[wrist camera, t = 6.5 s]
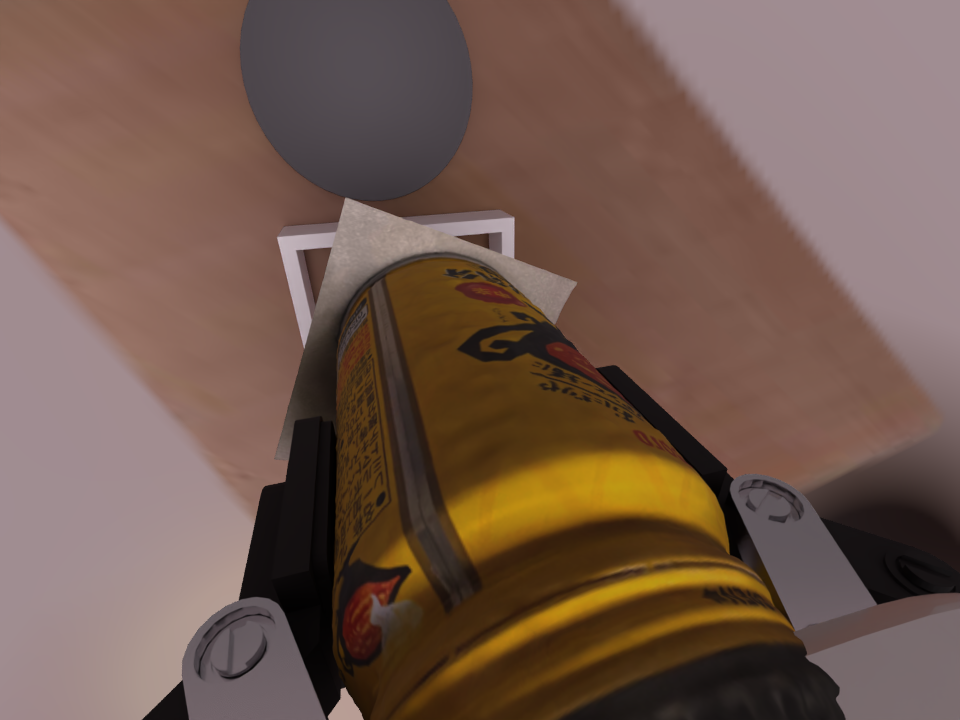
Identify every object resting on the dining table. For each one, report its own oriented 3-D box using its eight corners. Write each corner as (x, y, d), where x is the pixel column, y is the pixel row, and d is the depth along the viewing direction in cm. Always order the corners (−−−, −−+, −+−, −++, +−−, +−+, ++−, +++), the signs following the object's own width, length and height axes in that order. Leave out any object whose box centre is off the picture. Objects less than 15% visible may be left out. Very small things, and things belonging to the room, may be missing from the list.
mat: (473, 192, 29) (476, 193, 28) (275, 205, 26) (273, 208, 26) (464, -53, 23) (467, -58, 22) (211, -66, 21) (206, -72, 20)
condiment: (574, 279, 14) (1131, 686, 4) (475, 479, 17) (659, 994, 7) (345, 195, 11) (349, 847, 1) (275, 452, 14) (113, 1244, 4)
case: (501, 403, 37) (583, 551, 24) (331, 433, 34) (322, 618, 21) (499, 209, 30) (616, 272, 17) (283, 226, 27) (225, 317, 14)
